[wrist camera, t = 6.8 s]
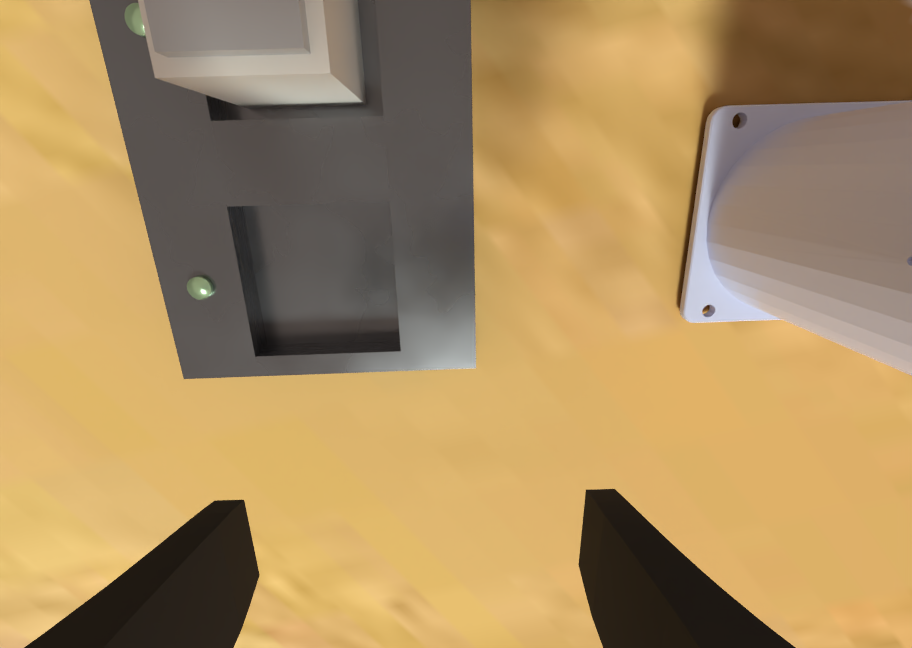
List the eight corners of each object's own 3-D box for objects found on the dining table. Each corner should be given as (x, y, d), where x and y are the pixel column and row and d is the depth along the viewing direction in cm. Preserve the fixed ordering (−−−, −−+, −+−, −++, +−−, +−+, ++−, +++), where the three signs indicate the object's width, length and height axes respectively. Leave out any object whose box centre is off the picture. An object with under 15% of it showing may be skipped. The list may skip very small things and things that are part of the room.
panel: (464, -96, 14) (468, -143, 12) (472, 348, 19) (476, 370, 17) (110, -89, 14) (50, -136, 12) (210, 357, 19) (181, 381, 16)
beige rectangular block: (354, -39, 14) (299, -170, 8) (366, 104, 15) (325, 68, 10) (223, -36, 14) (85, -166, 8) (247, 108, 15) (140, 73, 10)
